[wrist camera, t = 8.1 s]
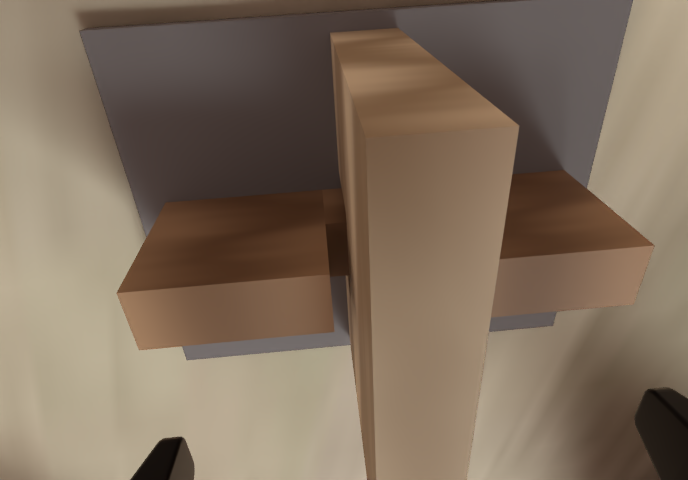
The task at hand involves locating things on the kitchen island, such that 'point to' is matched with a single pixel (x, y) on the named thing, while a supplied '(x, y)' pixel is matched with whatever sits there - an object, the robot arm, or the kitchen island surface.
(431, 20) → the rubber mat
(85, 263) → the kitchen island surface
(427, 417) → the upright wooden plank
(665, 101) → the kitchen island surface
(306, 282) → the walnut board
